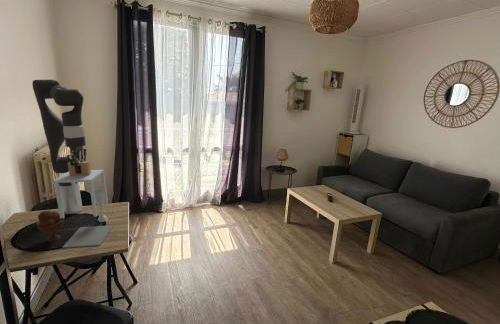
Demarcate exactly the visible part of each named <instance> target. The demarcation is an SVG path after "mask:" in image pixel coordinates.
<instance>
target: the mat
mask: <svg viewBox="0 0 500 324" xmlns="http://www.w3.org/2000/svg"><path fill="white" fill-rule="evenodd" d="M113 228H114V225H113V224H112V225H98V226H97V225H96V226H80V227H79V228H78V230H76V231H75V232H74V233H73V234H72V236H71V237H70V238H69V239H68V240H67V241H66V242H65V244H64V245H62V247H61V248H62V249H68V248H70V249H71V248H84V247H86V248H87V247H94V246H95V247H98V246H99V247H100V246H101V245H102V244H103V242H104V241H105V239H106V238H107V237H108V235H109V233H110V232H111V230H112V229H113Z"/></svg>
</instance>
